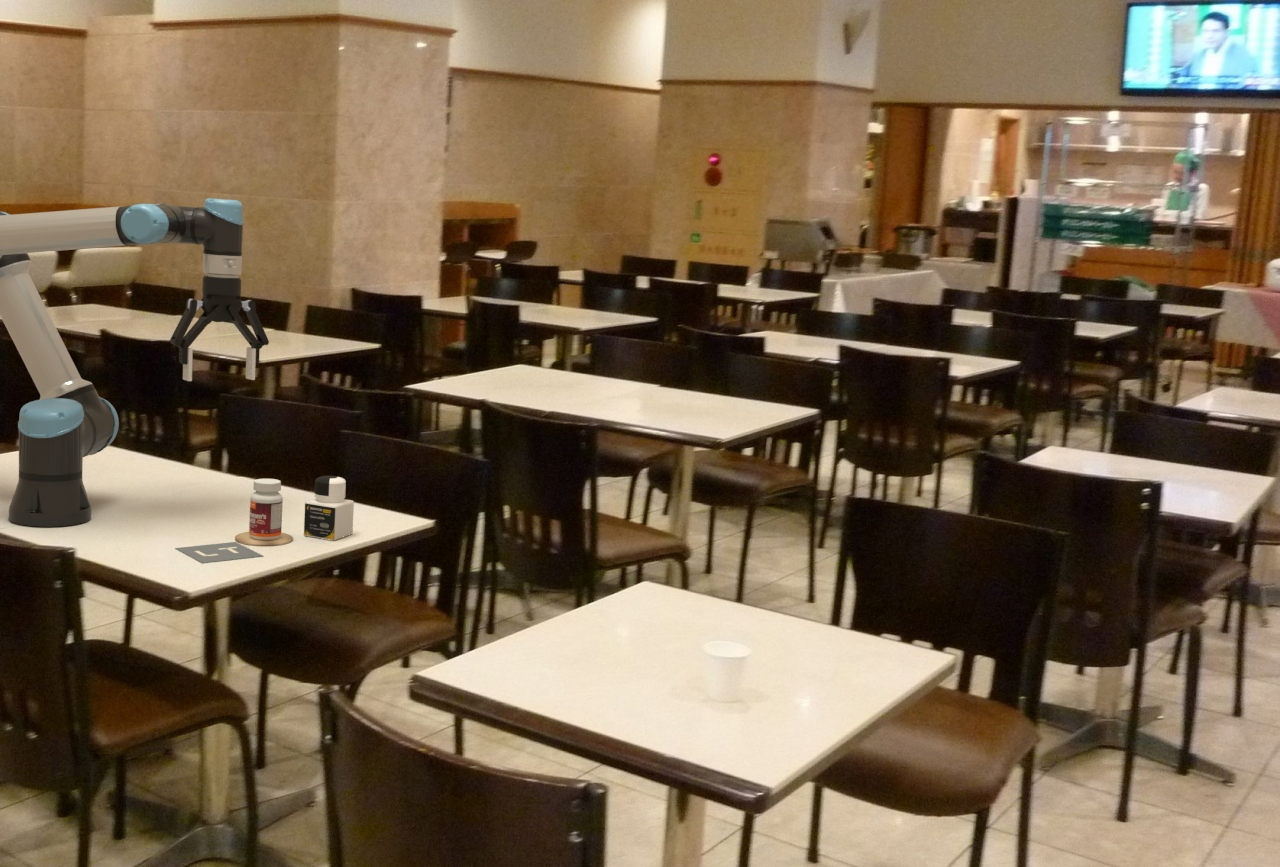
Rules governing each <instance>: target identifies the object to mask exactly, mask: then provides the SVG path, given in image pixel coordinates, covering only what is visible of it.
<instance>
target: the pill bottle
mask: <svg viewBox="0 0 1280 867" xmlns="http://www.w3.org/2000/svg"><path fill="white" fill-rule="evenodd" d="M252 488H253V491H255V492H253V493H252V494H251V495H250V501H249V524H248V532H249V536H250V537H251V538H253V539H256V540H275V539H278V538H280V537H281V532H282V522H283V498H284V497H283V495H282V494H281V493H280V491H281V490H282V480H279V479H275V478H258V479H255V480H254V481H253V486H252Z"/></svg>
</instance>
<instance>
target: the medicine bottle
mask: <svg viewBox="0 0 1280 867" xmlns="http://www.w3.org/2000/svg"><path fill="white" fill-rule="evenodd" d="M346 482H347V481H346V479H345V478H343V477H340V476H337V475H322V476H319V477H317V478H316V479H315V480H314V498H313V499H311V500H307V501H305V502H304V517H303V518H304V519H303V520H304V522H303V536H305V537H307V536H309V538H313V537H317V538H316V539H319V538H323V539H322V540H325V539H330V540H329V541H331V540H335V541H337V540H336V539H338V540H340V539H339V538H341V537H343V536H346V535H349V534H351V533H352V534H353V529H354V527H353V526H354V509H355V508H354V504H355V502H354V500H351V499H345V498H346V488H347V487H346V485H347V484H346ZM349 536H350V535H349ZM346 537H347V536H346ZM343 538H344V537H343ZM341 539H342V538H341Z"/></svg>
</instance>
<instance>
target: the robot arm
mask: <svg viewBox="0 0 1280 867" xmlns="http://www.w3.org/2000/svg"><path fill="white" fill-rule="evenodd" d="M243 210H244V208H243V204H242V202H241V201H240V200H237V199H236V200H235V199H223V198H206V199H205V200H204V204H203V206H199V207H195V206H187V205H177V204H176V205H175V204H165V203H152V204H151V203H136V204H133V205H125V206H110V207H94V208H93V207H92V208H84V209H83V208H81V209H80V208H79V209H67V210H59V211H58V210H56V211H44V212H42V211H41V212H31V213H29V212H28V213H19V214H18V213H16V214H10V213H7V212H5V211H0V318H1V320H2V322H3V324H4V326H5V328H6V330H7V332H8V334H9V336H10V338H11V339H12V342H13V344H14V345H15V347H16V350H17V351H18V354H19V355H20V357H21V359H22V361H23V363H24V365H25V367H26V369H27V372H28V374H29V375H30V377H31V379H32V382H33V383H34V385H35V387H36V389H37V391H38V393H39V395H40V397H39V399H36V400H33V401H29V402H28V403H25V404H24V405H22V407H21V408H20V411H19V418H18V419H19V420H18V421H17V428H18V482H17V485H16V488H15V491H14V493H13V496H12V499H11V501H10V504H9V507H8V521H10V522H11V523H13V524H17V525H21V526H26V527H27V526H28V527H38V528H39V527H40V528H41V527H43V528H45V527H46V528H48V527H51V528H53V527H67V526H75V525H81V524H83V523H84V524H85V523H86V522H89V521H90V520H91V519H92V505H91V502H90V500H89V497H88V493H87V491H86V488H85V484H84V482H83V462H84V459H83V458H85V457H89V456H92V455H96V454H98V453H100V452H102V451H104V449H107V447H108V446H110V445H111V444H112V443H113V442H114V440H115V439H116V437H117V434H118V431H119V426H120V425H119V424H120V422H119V415H118V413H117V410H116V409H115V407H114V406H113V405H112V404H111V402H109V401H108V400H106V399H105V398H103V397H101V396H99V394H98V392H97V390H96V387H95V386H94V383H92V382H91V381H89V380H86V379H83V378H82V377H81V374H80V373H79V371H78V368H77V366H76V365H75V363H74V361H73V359H72V357H71V355H70V353H69V351H68V349H67V347H66V345H65V343H64V341H63V339H62V337H61V335H60V333H59V332H58V331H59V330H58V329H57V327H56V324H55V323H54V321H53V319H52V317H51V315H50V313H49V311H48V309H47V307H46V305H45V303H44V300H42V298H41V296H40V293H39V292H38V289H37V288H36V285H35V283H34V281H33V279H32V276H30V272H29V271H30V269H31V267H32V263H33V262H32V260H31V258H30V255H29V254H33V253H34V254H36V253H44V252H45V253H46V252H47V253H48V252H57V251H59V252H60V251H61V252H62V251H69V250H72V251H73V250H83V249H96V248H109V247H122V246H139V245H140V246H141V245H153V244H182V245H183V244H185V245H197V246H198V245H199V246H200V245H203V252H202V254H203V257H202V258H203V259H202V273H203V274H205V275H203V277H202V286H201V287H202V288H201V290H202V291H201V292H202V298H201V300H198V299H194V298H187V299H186V304H185V309H184V311H183V314H182V315H181V318H180V320H179V322H178V323H177V326H176V328H175V329H174V332H173V333H172V335H171V337H170V338H169V339H170V340H169V343H170V344H172V345H174V346H177V347H178V352H179V353H178V362H179V364H181V365H182V380H184V381H187V382H192V381H193V352H194V349H193V348H190V346H191V345H192V344H193V343H194V341H196V339H197V338H198V337H199V335H200V334H201V333H202V332H203V331H204V329H206V327H207V326H208V325H209V324H211V323H212V322H213V323H221V322H224V323H232V324H234V326H235V327H236V328H237V330H238V331H239V333H240V334H241V335H242V337H243V338H244V340H246V342H247V344H249V345H250V346H246V355H245V356H246V358H245V359H246V360H245V361H246V362H245V379H246V380H251V381H255V380H256V364H259V362H260V352H261V351H260V349H262V348H263V347H264V346H268V345H269V343H270V342H269V339H268V338H269V337H267V334H266V331H265V330H264V328H263V325H262V322H261V320H260V318H259V315H258V313H257V308H256V307H257V306H256V302H255V301H254V300H252V299H246V300H244V301H243V300H241V296H242V295H241V294H242V279H241V277H239V276H241V275H242V267H243V266H242V265H243V263H242V262H243V256H242V255H243V238H244V236H243V232H244V225H245V223H244V215H243V214H244V211H243ZM200 308H201V310H202V311H203V312H202V313H201V315H199V317H198V320H196V322H194V324H193V325H192V327H191V328H189V327H190V325H191V323H192V321H193V319H194V318H195V316H196V313H197V311H199V309H200ZM241 309H242V310H243V311H244V312H245V314H246V317H247V319H248V321H249V324H250V326H251V328H252V330H253V331H251V329H250V328H249V327H248V325H247V324H246V323H245V322H244V319H243V318H242V317H241V315H240V314H239V312H240V311H241ZM188 329H189V330H188Z"/></svg>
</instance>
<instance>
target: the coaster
mask: <svg viewBox="0 0 1280 867" xmlns="http://www.w3.org/2000/svg"><path fill="white" fill-rule="evenodd" d="M293 540H294V537H293V535H291V534H288V533H285V532H282V531H281V537H280V538H278V539H275V540H256V539H253V538H251V537H250V536H249V531H245V532H240V533H238V534H236V535H235V536H234V542H236V543H238V544H241V545H246V546H253V547H254V546H255V547H275V546H282V545H287V544H290V543H292V542H293Z"/></svg>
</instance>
